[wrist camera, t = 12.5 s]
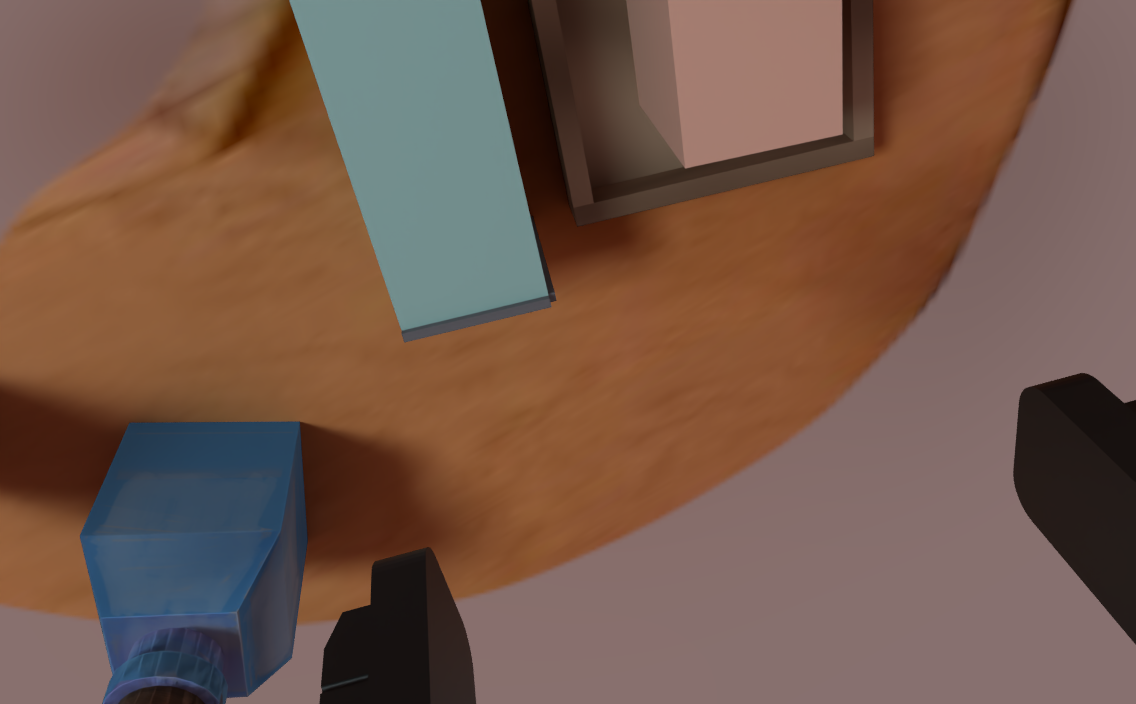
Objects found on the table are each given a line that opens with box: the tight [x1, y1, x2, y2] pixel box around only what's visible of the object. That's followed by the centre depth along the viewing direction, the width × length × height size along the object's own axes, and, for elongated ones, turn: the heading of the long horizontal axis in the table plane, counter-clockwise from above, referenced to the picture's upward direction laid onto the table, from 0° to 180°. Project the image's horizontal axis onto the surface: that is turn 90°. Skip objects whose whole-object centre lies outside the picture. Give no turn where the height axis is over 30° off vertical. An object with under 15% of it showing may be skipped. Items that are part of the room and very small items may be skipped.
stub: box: [626, 0, 843, 168], centre depth 27 cm, size 5×4×6 cm
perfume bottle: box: [80, 422, 308, 704], centre depth 32 cm, size 6×6×12 cm
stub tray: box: [528, 0, 874, 227], centre depth 29 cm, size 11×10×2 cm
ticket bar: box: [289, 0, 556, 342], centre depth 27 cm, size 12×5×6 cm, turn 11°
